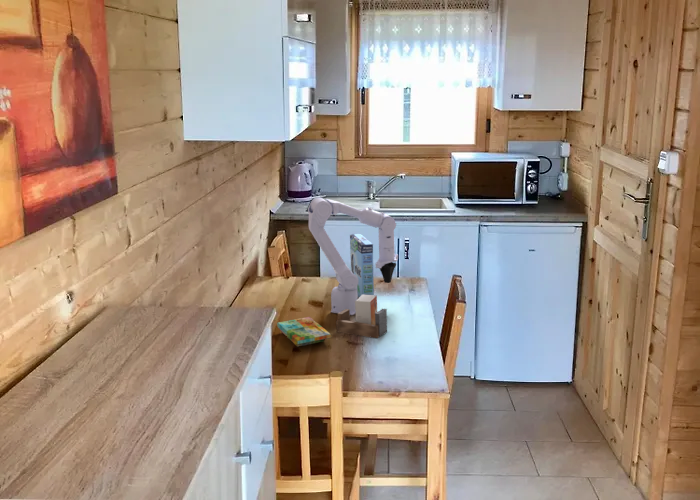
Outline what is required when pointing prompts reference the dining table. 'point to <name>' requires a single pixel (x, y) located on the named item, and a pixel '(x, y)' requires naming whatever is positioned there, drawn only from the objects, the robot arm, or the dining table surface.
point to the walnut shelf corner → (355, 326)
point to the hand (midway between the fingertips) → (387, 282)
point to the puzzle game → (303, 331)
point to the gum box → (362, 263)
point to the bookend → (381, 321)
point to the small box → (366, 309)
